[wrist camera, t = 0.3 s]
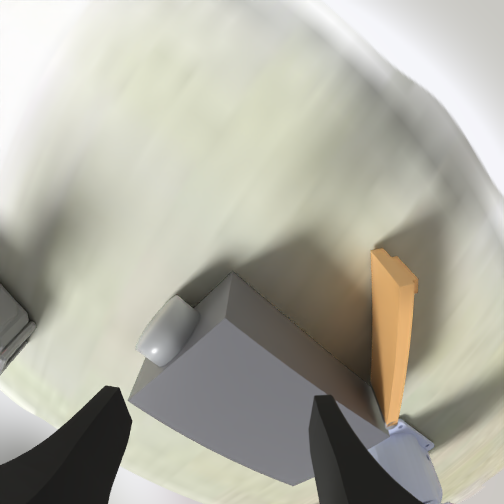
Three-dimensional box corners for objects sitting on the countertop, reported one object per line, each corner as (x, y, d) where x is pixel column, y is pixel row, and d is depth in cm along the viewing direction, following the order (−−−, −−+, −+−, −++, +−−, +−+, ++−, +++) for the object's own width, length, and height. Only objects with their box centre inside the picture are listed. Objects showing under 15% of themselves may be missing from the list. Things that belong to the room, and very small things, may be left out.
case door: (386, 382, 22) (404, 425, 18) (369, 386, 22) (384, 431, 18) (391, 246, 18) (425, 281, 14) (369, 250, 18) (398, 286, 14)
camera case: (373, 389, 23) (390, 436, 18) (289, 440, 25) (293, 486, 21) (212, 253, 19) (198, 296, 14) (130, 337, 21) (106, 385, 17)
